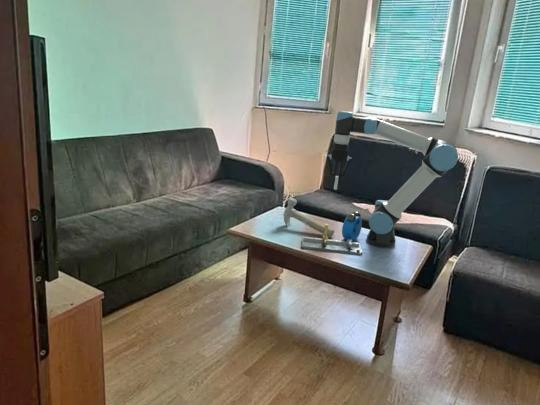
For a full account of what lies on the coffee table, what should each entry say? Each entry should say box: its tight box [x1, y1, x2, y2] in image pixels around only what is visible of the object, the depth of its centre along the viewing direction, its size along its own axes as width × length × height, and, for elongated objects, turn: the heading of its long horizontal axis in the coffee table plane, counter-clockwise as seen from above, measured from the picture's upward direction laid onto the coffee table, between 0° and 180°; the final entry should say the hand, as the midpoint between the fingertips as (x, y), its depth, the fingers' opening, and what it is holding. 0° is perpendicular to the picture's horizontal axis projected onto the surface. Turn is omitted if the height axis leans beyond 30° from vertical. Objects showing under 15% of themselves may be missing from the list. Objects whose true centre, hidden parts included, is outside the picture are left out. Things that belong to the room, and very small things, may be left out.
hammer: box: [283, 197, 335, 238], centre depth 245 cm, size 16×5×30 cm
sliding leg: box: [321, 222, 329, 246], centre depth 225 cm, size 2×8×10 cm, turn 175°
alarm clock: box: [341, 211, 363, 242], centre depth 237 cm, size 13×6×15 cm, turn 146°
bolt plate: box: [301, 238, 363, 256], centre depth 225 cm, size 30×11×2 cm, turn 85°
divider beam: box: [304, 236, 360, 249], centre depth 225 cm, size 28×8×3 cm, turn 85°
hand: (335, 188), depth 227 cm, fingers closed
